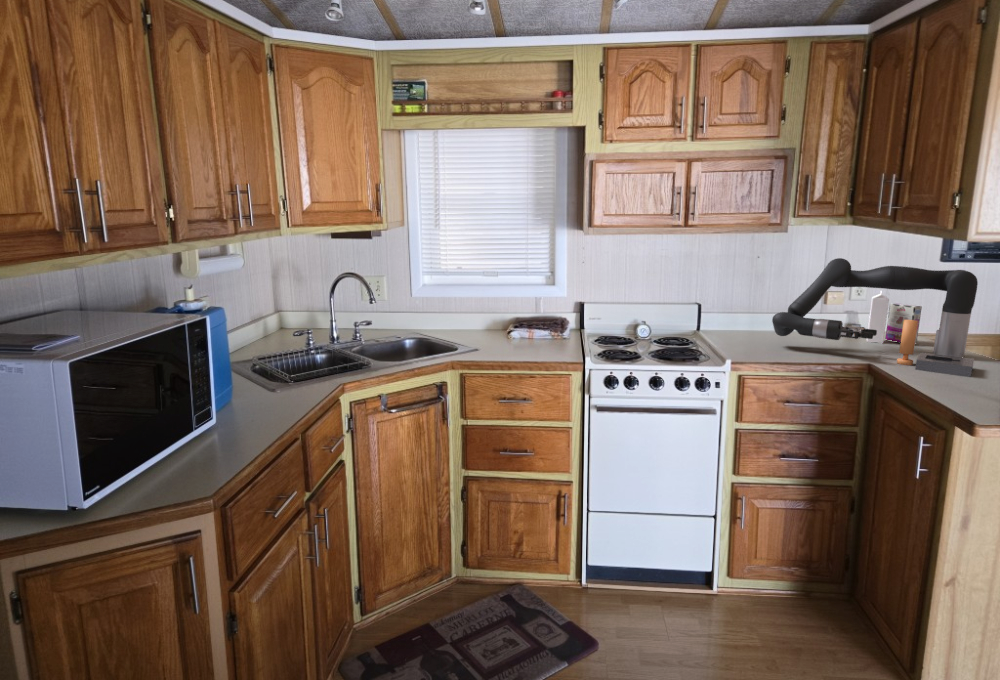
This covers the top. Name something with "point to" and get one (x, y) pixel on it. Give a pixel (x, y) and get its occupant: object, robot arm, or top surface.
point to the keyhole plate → (944, 364)
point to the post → (907, 341)
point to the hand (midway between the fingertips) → (874, 334)
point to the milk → (878, 317)
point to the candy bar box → (901, 319)
